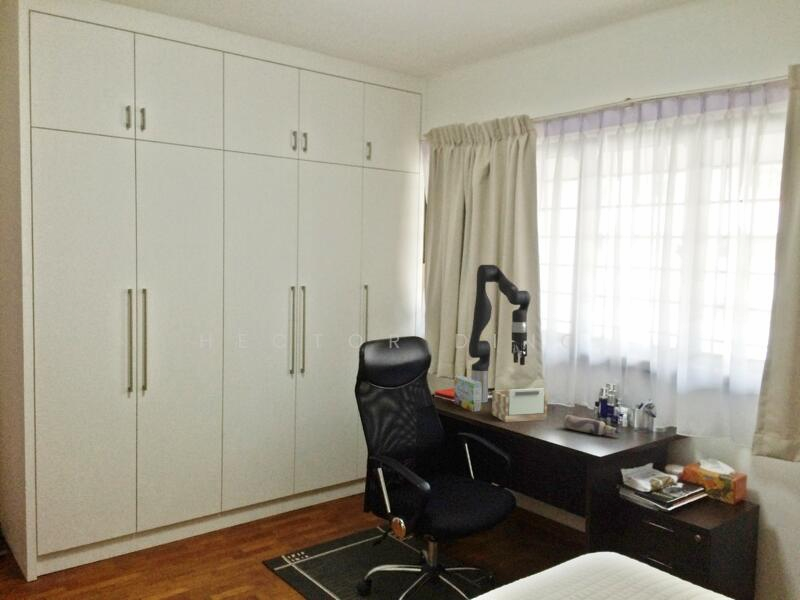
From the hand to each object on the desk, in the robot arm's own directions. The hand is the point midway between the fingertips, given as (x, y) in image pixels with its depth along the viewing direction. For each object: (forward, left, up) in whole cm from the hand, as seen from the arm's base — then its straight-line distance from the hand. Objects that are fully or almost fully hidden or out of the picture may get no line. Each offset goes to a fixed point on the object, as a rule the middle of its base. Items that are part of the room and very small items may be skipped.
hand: (519, 363), depth 332 cm
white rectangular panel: (+9, 0, -23) cm, 25 cm away
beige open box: (+1, 0, -26) cm, 26 cm away
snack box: (-25, -17, -27) cm, 40 cm away
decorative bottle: (+36, +18, -27) cm, 49 cm away
